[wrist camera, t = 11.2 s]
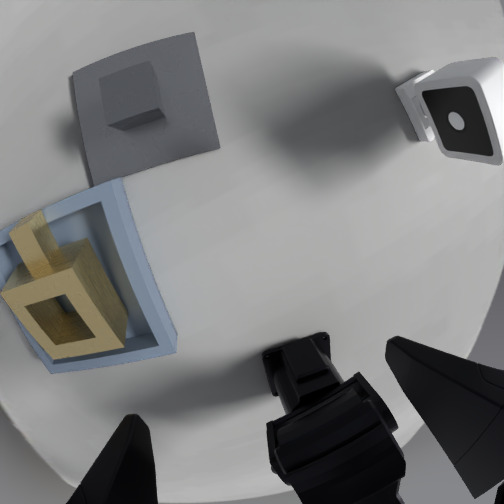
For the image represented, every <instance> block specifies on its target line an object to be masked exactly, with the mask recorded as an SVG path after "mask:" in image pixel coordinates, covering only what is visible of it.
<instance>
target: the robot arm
mask: <svg viewBox="0 0 504 504" xmlns="http://www.w3.org/2000/svg"><path fill="white" fill-rule="evenodd" d="M323 337H324V338H323ZM266 356H268V357H266ZM385 359H386V361H387V363H388V365H389V367H390V369H391V370H392V372H393V374H394V376H395V378H396V379H397V381H398V383H399V385H400V387H401V388H402V390H403V392H404V393H405V395H406V396H407V398H408V399H409V400H410V402H411V403H412V405H413V406H414V408H415V409H416V410H417V412H418V413H419V415H420V416H421V418H422V419H423V420H424V422H425V423H426V425H427V426H428V427H429V429H430V431H431V432H432V434H433V435H434V436H435V438H436V439H437V441H438V442H439V444H440V445H441V447H442V448H443V450H444V451H445V453H446V454H447V456H448V458H449V459H450V461H451V462H452V464H453V465H454V467H455V468H456V470H457V472H458V473H459V475H460V476H461V478H462V480H463V481H464V483H465V484H466V486H467V488H468V489H469V491H470V493H471V494H472V496H473V497H474V499H476V498H477V497H479V496H480V495H482V494H484V493H485V492H487V491H488V490H489V489H491V488H492V487H494V486H495V485H496V484H498V483H499V482H501V481H502V480H503V479H504V370H500V369H496V368H492V367H489V366H485V365H482V364H479V363H478V364H477V363H476V362H473V361H470V360H467V359H464V358H461V357H458V356H455V355H452V354H449V353H446V352H443V351H440V350H437V349H434V348H432V347H429V346H426V345H423V344H420V343H417V342H414V341H412V340H409V339H406V338H403V337H400V336H394V337H392V338H390V339H389V340H388V341H387V344H386V352H385ZM262 360H263V363H264V367H265V370H266V374H267V378H268V381H269V385H270V388H271V392H272V395H273V396H279V397H280V400H281V403H282V405H283V408H284V410H285V413H286V415H285V416H283V417H281V418H278V419H276V420H274V421H270V422H268V423H266V426H267V431H266V432H267V441H268V450H269V459H270V464H271V470H272V472H273V473H275V474H278V476H279V477H280V479H281V480H282V481H283V482H284V483H285V484H287V485H289V486H291V485H292V487H293V488H294V490H295V491H296V493H297V495H298V496H299V498H300V500H301V502H302V504H404V501H403V500H402V498H401V496H400V495H399V493H398V491H399V486H400V480H401V478H403V477H404V476H405V470H406V462H405V460H404V454H403V452H402V450H401V448H400V447H399V445H398V443H397V441H396V440H395V438H394V436H393V435H392V432H394V431H395V430H397V429H398V425H397V423H396V420H395V419H394V417H393V415H392V413H391V412H390V410H389V408H388V407H387V405H386V404H385V402H384V401H383V400H382V398H381V397H380V396H379V395H378V393H377V392H376V391H375V390H374V389H373V387H372V386H371V385H370V384H369V383H368V382H367V380H366V379H365V378H364V377H363V376H362V375H361V373H360V372H357V373H356V374H354V375H353V377H352V378H350V379H348V380H347V381H345V382H344V381H343V379H342V378H341V376H340V375H339V373H338V372H337V370H336V368H335V367H334V365H333V364H332V362H331V354H330V337H329V335H328V333H327V332H322V333H319V334H317V335H314V336H311V337H308V338H305V339H302V340H299V341H296V342H293V343H290V344H287V345H284V346H281V347H278V348H275V349H272V350H268V351H265V352H264V353H262ZM66 504H158V499H157V487H156V472H155V463H154V456H153V450H152V443H151V436H150V430H149V428H148V426H147V425H146V423H145V422H144V421H143V420H142V419H141V418H140V416H139V415H137V414H128V415H126V416H125V417H124V419H123V420H122V422H121V423H120V424H119V426H118V427H117V429H116V430H115V432H114V433H113V435H112V436H111V438H110V439H109V441H108V442H107V444H106V445H105V447H104V448H103V450H102V451H101V453H100V454H99V456H98V457H97V459H96V460H95V462H94V463H93V465H92V466H91V468H90V469H89V471H88V472H87V474H86V475H85V477H84V478H83V480H82V481H81V484H80V485H79V486H78V487H77V489H76V490H75V492H74V493H73V495H72V496H71V498H70V499H69V501H68V502H67V503H66ZM494 504H504V482H503V483H502V484H501V485H500V486H499V487H498V490H497V495H496V499H495V503H494Z"/></svg>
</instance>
